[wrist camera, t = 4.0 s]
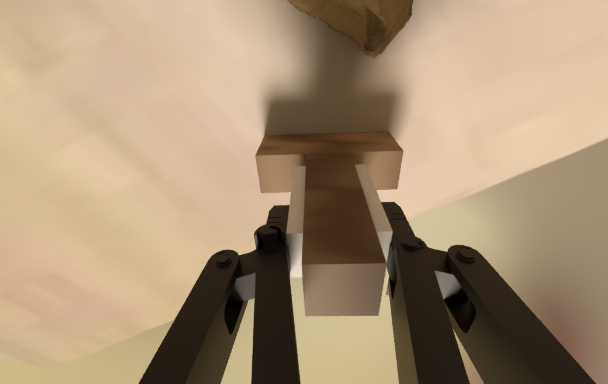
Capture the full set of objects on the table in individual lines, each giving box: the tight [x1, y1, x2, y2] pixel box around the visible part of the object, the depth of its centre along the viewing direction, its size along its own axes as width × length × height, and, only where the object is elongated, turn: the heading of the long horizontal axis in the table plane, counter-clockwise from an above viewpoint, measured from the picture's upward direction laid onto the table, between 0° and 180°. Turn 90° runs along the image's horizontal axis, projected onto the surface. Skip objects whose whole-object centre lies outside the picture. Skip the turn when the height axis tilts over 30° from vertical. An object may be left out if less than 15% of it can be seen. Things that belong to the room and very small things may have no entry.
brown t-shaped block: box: [256, 132, 403, 316], centre depth 16 cm, size 10×3×14 cm, turn 93°
